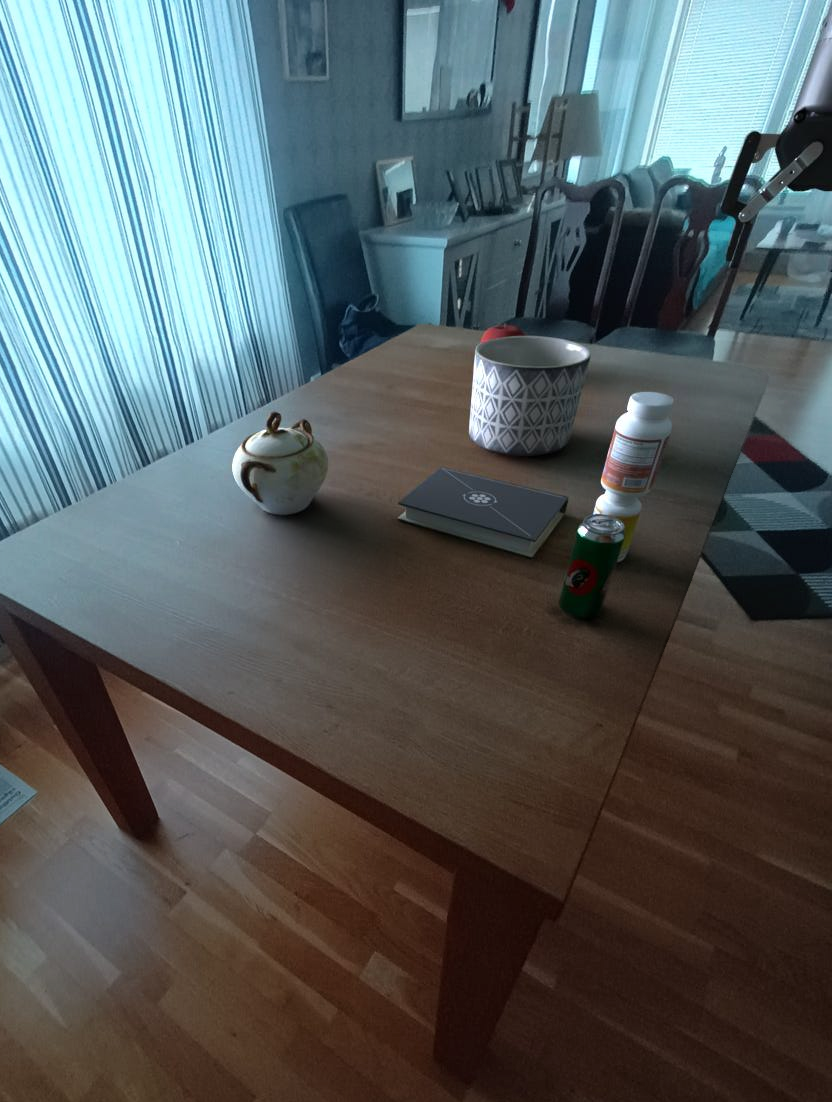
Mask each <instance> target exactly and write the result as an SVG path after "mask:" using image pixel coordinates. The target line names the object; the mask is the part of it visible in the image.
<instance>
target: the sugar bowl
mask: <svg viewBox="0 0 832 1102" xmlns="http://www.w3.org/2000/svg"><path fill="white" fill-rule="evenodd" d="M282 418H283V417H282V415H281V413H280V412H278V411H275V410H273V411H271V412H270V413H269V414H268V416H267V419H266V423H265V426H266V427H265V428H266V429H263V430H260V431H257V432H255V433H252V434H250V435H249V436H247V437H246V438H244V440H243V441H242V442H241V444H240V446H239V447H238V448H237V450H236V452H235V453H234V456H233V459H232V463H231V464H232V465H231V467H232V469H231V470H232V474H233V477H234V480H235V482H236V484H237V485H238V487H239V488H240V489H241V490H242V492H244V493H245V494H246V496H247V497H249V498H250V499H251V500H252V501H253V502H254V503H256V504H257V505H258V506H259V507H260V508H261V509H262V510H263V511H264V512H267V513H269V514H272V515H278V516H287V515H293V514H296V513H299V512H301V511H303V510H305V509H306V508H307V507H309V506H310V504H311V502H312V501H313V499H314V497H315V496H316V494H317V493H318V492H319V490H320V489H321V488H322V485H323V483H324V481H325V480H326V477H327V474H328V470H329V458H328V454H327V452H326V450H325V448H324V446H323V445H322V444H321V443H320V442H319V441H318V440H317V439H316V438H315V436H314V435H313V429H312V425H311V423H310V421H308V420H307V419H306V418H301V419H299V420H298V421H296V422H295V423H294V424H292V425H291V426H289V427H280V426H281V422H282ZM299 428H300V429H299Z"/></svg>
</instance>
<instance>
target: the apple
mask: <svg viewBox="0 0 832 1102" xmlns="http://www.w3.org/2000/svg"><path fill="white" fill-rule="evenodd" d="M511 336H526V333H525V332H524V331H523V330H522V328H520V327H518V326H516V325H509V324H507V322H505V323H504V324H499V325H494V326H490V327H489V328H488V329H486V330H485V331H484V333H483V335H482V337H481V340H480V342H479V344H481V343H483V342H485V341H488V340H492V339H496V338H502V337H511Z"/></svg>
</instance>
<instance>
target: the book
mask: <svg viewBox="0 0 832 1102" xmlns="http://www.w3.org/2000/svg"><path fill="white" fill-rule="evenodd" d="M568 503H569V496H567V495H563V494H559V493H555V492H551V491H546V490H542V489H538V488H533V487H529V486H525V485H521V484H516V483H513V482H507V481H503V480H499V479H494V478H490V477H487V476H482V475H479V474H474V473H469V472H465V471H461V470H456V469H452V468H449V467H443V466H440V467H438V468H437V469H436V470H435V471H434V472H432V473H431V474H430V475H429V476H428V477H426V478H425V479H424V480H423V481H422V482H420V483H419V484H418V485H416V487H414V488H413V489H411V491H410V492H408V493H407V494H406V495H405V496H404V497H402V498H401V499H399V501H398V502H397V505H399V506H402V507H405V511H404V512H403V513H402V514H400V515H399V516H398V517H397V521H399V522H403V523H406V524H410V525H414V526H417V527H420V528H423V529H428V530H431V531H435V532H438V533H441V534H444V535H448V536H452V537H455V538H459V539H462V540H466V541H469V542H472V543H476V544H479V545H482V546H486V547H490V548H493V549H497V550H500V551H503V552H507V553H511V554H514V555H517V556H520V557H524V558H527V559H533V558H534V556H535V555H536V554H537V552H538V551H539V550H540V548H541V547H542V546H543V545H544V543H545V542H546V540H548V538H549V537H550V535H552V532H553V531H554V530H555V528H556V527H557V526H558V524H559V523H560V522H561V521H562V519H563V517H565V515H566V511H567V508H568Z"/></svg>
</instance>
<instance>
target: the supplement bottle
mask: <svg viewBox="0 0 832 1102" xmlns="http://www.w3.org/2000/svg"><path fill="white" fill-rule="evenodd" d="M639 497H640V496H637V497H627V496H621V495H617V494H614V493H611V492H609V491H607V490H606V489H605V492H604V494H601V495H600V496H599V497H598V498H597V499H596V502H595V505H594V506H595V507H594V510H593V512H592V515H593V514H605V515H610V516H613V517H616V518H618V519H619V520H621V521H622V522H623V524H624V532H625V539H624V542H623V545H622V548H621V551H620V554H619V557H618V560H617V563H620V562H622V561H624V559H626V557H627V554H628V552H629V549H630V545H631V542H632V538H633V535H634V533H635V530H636V526H637V524H638V520H639V518H640V514H641V511H642V507H643V506H642V503H641V500H639Z"/></svg>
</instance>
